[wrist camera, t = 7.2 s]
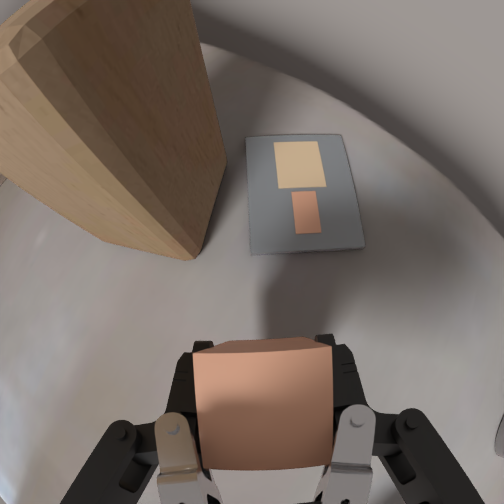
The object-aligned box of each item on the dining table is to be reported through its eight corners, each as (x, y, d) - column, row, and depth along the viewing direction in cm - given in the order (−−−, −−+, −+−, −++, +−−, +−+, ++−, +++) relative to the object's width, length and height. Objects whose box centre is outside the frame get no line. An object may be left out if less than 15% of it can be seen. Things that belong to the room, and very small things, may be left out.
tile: (339, 139, 24) (341, 134, 23) (363, 248, 21) (365, 246, 20) (245, 141, 24) (245, 136, 23) (251, 255, 21) (250, 252, 20)
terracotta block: (303, 336, 16) (331, 346, 8) (305, 405, 15) (331, 463, 7) (229, 340, 16) (192, 353, 8) (233, 409, 15) (203, 468, 7)
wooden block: (231, 159, 24) (183, -68, 4) (200, 266, 21) (-4, 39, 2) (138, 150, 25) (41, -8, 5) (101, 242, 22) (-74, 116, 3)
